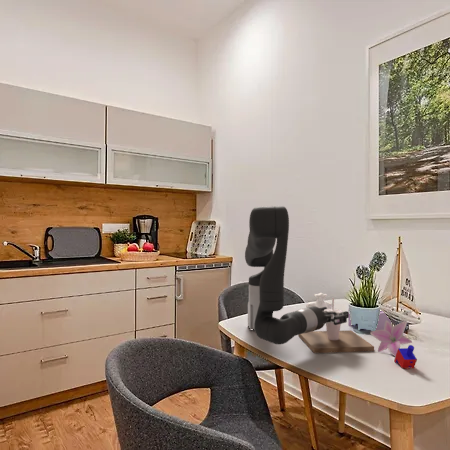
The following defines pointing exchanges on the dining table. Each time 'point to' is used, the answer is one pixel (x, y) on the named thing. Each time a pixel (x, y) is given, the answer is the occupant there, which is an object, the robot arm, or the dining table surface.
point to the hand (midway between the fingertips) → (336, 312)
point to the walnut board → (335, 342)
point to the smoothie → (331, 328)
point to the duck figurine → (320, 301)
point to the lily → (391, 337)
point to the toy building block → (406, 357)
